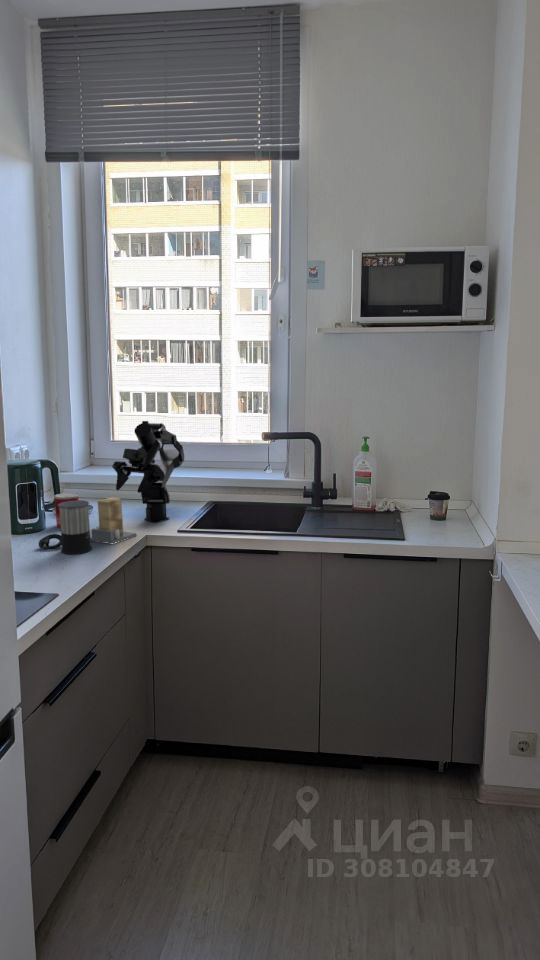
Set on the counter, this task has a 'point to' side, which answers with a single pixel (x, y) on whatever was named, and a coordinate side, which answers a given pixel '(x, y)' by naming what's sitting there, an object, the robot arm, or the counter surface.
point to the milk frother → (71, 529)
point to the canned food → (59, 499)
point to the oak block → (110, 514)
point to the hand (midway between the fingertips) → (127, 490)
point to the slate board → (110, 535)
